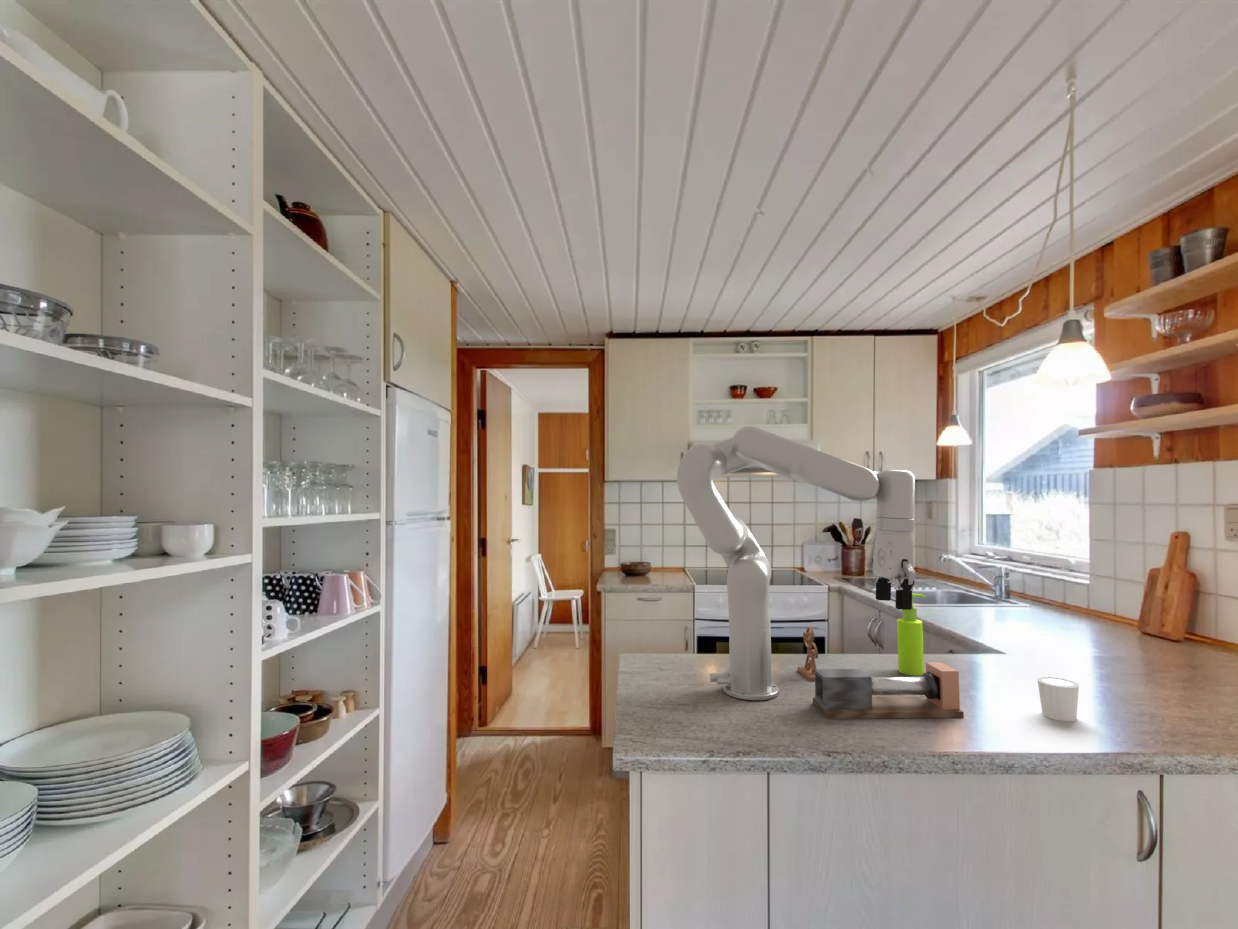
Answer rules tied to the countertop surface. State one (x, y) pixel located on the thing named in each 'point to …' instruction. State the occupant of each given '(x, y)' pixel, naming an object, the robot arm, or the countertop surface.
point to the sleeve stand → (868, 699)
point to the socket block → (945, 685)
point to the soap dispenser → (910, 642)
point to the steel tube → (907, 685)
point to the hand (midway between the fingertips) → (893, 604)
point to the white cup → (1058, 698)
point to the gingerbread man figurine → (811, 666)
